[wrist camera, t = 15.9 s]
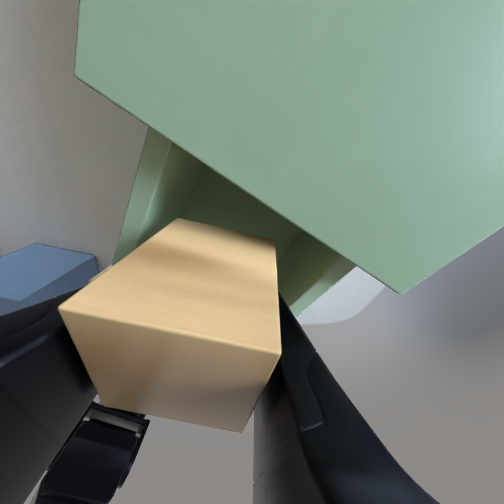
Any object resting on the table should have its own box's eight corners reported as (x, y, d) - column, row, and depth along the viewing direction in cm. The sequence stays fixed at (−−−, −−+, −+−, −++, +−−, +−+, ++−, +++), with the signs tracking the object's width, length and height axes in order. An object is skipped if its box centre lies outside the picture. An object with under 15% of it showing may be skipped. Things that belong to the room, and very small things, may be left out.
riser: (106, 297, 20) (49, 349, 15) (55, 287, 20) (-21, 335, 15) (95, 255, 17) (19, 301, 12) (35, 242, 17) (-67, 283, 12)
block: (254, 308, 10) (242, 434, 5) (177, 291, 10) (102, 407, 5) (275, 239, 8) (282, 354, 3) (177, 216, 8) (54, 307, 3)
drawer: (234, 325, 19) (220, 395, 14) (138, 278, 17) (76, 339, 12) (369, 178, 11) (462, 206, 6) (223, 59, 9) (155, -71, 4)
